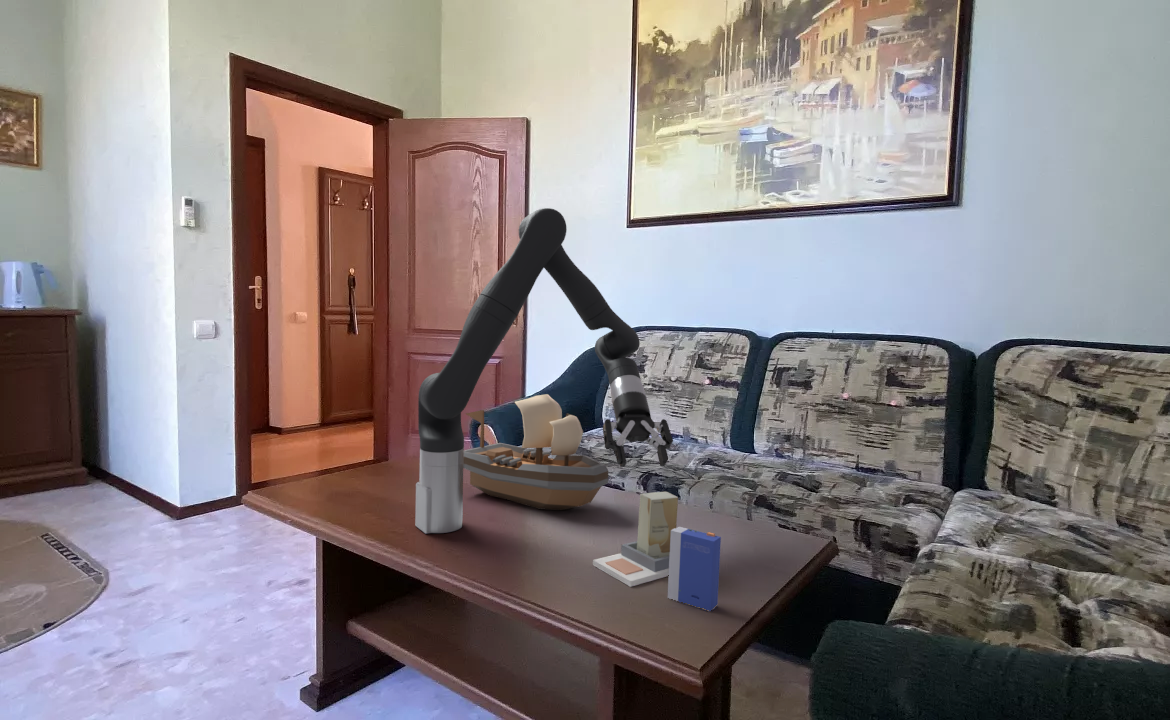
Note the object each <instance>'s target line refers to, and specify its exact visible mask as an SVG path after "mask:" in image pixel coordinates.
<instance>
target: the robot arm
mask: <svg viewBox="0 0 1170 720" xmlns="http://www.w3.org/2000/svg"><path fill="white" fill-rule="evenodd" d="M567 228H568V227H567V223H566V219H565V218H564V216H563V215H562V213H561V212H559V211H558V210H556V209H554V208H551V207H549V208H545V207H544V208H539V209H536V210H535V211H533V212H532V213H530V214H528V215H527V216H525V217H524V218H523V219H522V220H521V221H520V223H519V226H518V238H519V241H518V243H517V245H516V247H515V249H514V251H513V252H512V253H511V256H510V257H509V258H508V260H507V261H506V262H505V263H504V264H503V265H502V266H501V267H500V269H499V270H498V271H497V272H496V273H495V274H494V275H493V277H492V278H491V279H490V280H489V281H488V283H487V284H486V285H485V286H484V288H483V290H482V291H481V292H480V293H479V296H478V297H477V299H476V300H475V302H474V303H473V306H471V309H470V310H469V313H468V314H467V317H466V319H465V322H464V324H463V326H462V330H461V333H460V336H459V339H458V343H457V344H456V347H455V349H454V351H453V353H452V354H451V356H450V358H449V359H448V361H446V363H445V365H444V366H443V368H442V369H441V371H439V372H436V373H432V374H430V375H428V376H427V377H425V379H424V380H423V381H422V383H421V384H420V387H419V390H418V400H417V401H418V402H417V403H418V404H417V405H418V406H417V407H418V408H417V410H418V413H417V414H418V415H417V416H418V421H417V422H418V423H417V425H418V428H417V429H418V436H419V481H417V482H416V483H415V516H414V518H415V521H414V524H415V527H416V528H418V530H420V531H422V532H423V533H424V534H444V533H451V532H455V531H458V530H460V529H461V528H462V527H463V519H464V517H463V516H464V515H463V512H464V511H463V507H464V506H463V505H464V504H463V501H464V499H463V497H464V468H463V462H464V450H465V448H464V447H465V436H464V432H463V428H462V412H463V411H464V410H465V409H466V407H467V405H468V403H469V401H470V398H471V397H472V395H473V392H474V391H475V389H476V388H475V387H476V385H477V384H478V382H479V379H480V377H481V375H482V373H483V371H484V370H485V368H486V366H487V364H488V363H489V361H490V359H491V358H492V357H493V356H494V354H495V352H496V351H497V349H498V348H499V346H500V344H501V343H502V341H503V340H504V338H505V337H506V335H507V334H508V332H509V331H510V329H511V327H512V325H513V324H514V322H515V321H516V319H517V317H518V316H519V313H520V312H521V310H522V308H523V306H524V305H525V302H526V301H527V300H528V297H529V295H530V293H531V291H532V289H533V287H534V285H535V284H536V282H537V279H538V278H539V276H540V274H541V273H542V271H543V269H545V271H546V272H547V273H548V275H550V277H551V278H552V279H553V280H554V282H555V283H556V284H557V286H558V287H559V288H560V289H561V291H562V293H563V294H564V295H565V297H566V298H567V299H568V301H569V302H570V304H571V306H572V307H573V308H574V310H575V312H576V313H577V315H578V316H579V317H580V319H581V321H582V322H583V324H584V325H585V326H586V328H588V330H591V331H596V330H600V329H605V328H607V329H609V330H611V331H609V332H607V333H605V334H604V335H602V336H600V337H599V338H597V339H596V342H595V345H594V351H595V354H596V356H597V357H598V359H599V361H600V362H601V364H602V365H603V368H604V369H605V372H606V374H607V378H608V383H609V386H610V398H611V403H612V408H613V412H614V417H615V422H614V421H611V420H610V419H608V418H606V419H605V421H604V423H603V426H602V432H603V433H602V434H603V442H604V448H605V450H612V451H614V454H615V458H616V463H617V465H620V467H621V468H623V467H624V468H625V467H626V464H627V457H626V453H625V448H624V445H625V443H626V442H627V441H628V442H629V443H634V442H638V443H644V442H646V443H647V444H648V445H649V446H651V447H654V448H655V450H657V451H656V454H657V458H658V463H659V465H660V467H665V465H666V464H667V463H668V461H669V456H668V452H667V451H668V450H669V449H670V448H671V445H672V443H674V439H673V436H672V433H671V430H670V426H669V424H668V421H667V419H664V418H663V419H661V421H654V420H653V419H652V415H651V411H650V406H649V403H648V399H647V395H646V390H645V388H644V385H643V383H642V379H641V375H640V372H639V368H638V364H637V362H636V361H635V360H634V359H632V358H630V357H629V356H630V355H632V354H634V353H636V352H638V350H639V348H640V337H639V335H638V333H637V332H636V331H635V329H633V327H631V326H630V325H629V324H628V323H627V322H626V321H624V320H623V319H622V318H621V317H620V316H619V315H618V314H617V313H616V312H615V311H614V310H613V309H612V308H611V307H610V305H609V303H608V302H607V301H606V299H605V298H604V296H603V294H602V292H601V291H600V290H599V289H598V287H597V286H596V285H595V284H594V283H593V281H592V280H591V279H590V278H589V277H588V276H587V275H586V274H585V273H583V271H581V270H580V269H579V267H577V265H576V264H575V263H574V262H573V260H572V259H571V258H570V256H569V255H568V254H567V251H566V250H565V248H564V247H563V244H564V243H563V242H564V241H565V238H566V236H567ZM614 430H616V431H617V432H618V434H620V436H619V437H618V440H617V441H616V440H614V438H613V437H614V435H613V432H614ZM656 430H657V431H656ZM659 434H660V435H659ZM650 436H651V437H650Z"/></svg>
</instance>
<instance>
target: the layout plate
mask: <svg viewBox="0 0 1170 720" xmlns="http://www.w3.org/2000/svg"><path fill="white" fill-rule="evenodd" d="M620 547H621V551H620V553H616V554H612V555H608V556H603V557H599V558H595V559H592V565H593V566H594V567H596V568H597V569H599V570H600V571H603V572H604V573H606V574H607V575H609V576H611V577H612V578H614V579H616V580H618V581H619V582H622V583H623V584H625V585H627V586H628V587H630V588H632V587H634V586H638V585H642V584H644V583H645V584H646V583H648V582H651V581H655V580H658V579H662V578H665V577H669V576H668V575H669V556H665V557H661V558H658V559H654V558H652V557H650V556H648V555H646V554H644V553H642V552H640V551H638V550H637V540H636V541H632V542H626V543H623V544H621V546H620Z"/></svg>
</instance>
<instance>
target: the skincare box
mask: <svg viewBox="0 0 1170 720" xmlns="http://www.w3.org/2000/svg"><path fill="white" fill-rule="evenodd" d="M678 501H679V496H676V495H674V494H672V493H671V492H668V491H659V492H657V491H656V492H655V491H654V492H647V493H640V494H639V507H638V508H639V509H638V523H637V525H638V527H637V540H636V541H637V550H638V551H640V552H642V553H644V554H646V555H648V556H650V557H652V558H654V559H658V558H661V557H665V556H669V554H670V537H671V530H672V529H674V528H675V529H676V528H677V523H678V522H677V520H678V504H679V503H678Z"/></svg>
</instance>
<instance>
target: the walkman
mask: <svg viewBox="0 0 1170 720" xmlns="http://www.w3.org/2000/svg"><path fill="white" fill-rule="evenodd" d="M721 539H722V537H721V536H718V535H716V533H713V532H709V531H708V532H702V531H699V530H694V529H690V528H686V527H682V526H678V527H677V526H676V529H675V528H674V529H672V530H671V537H670V554H669V576H667V577H668V580H667V599H668V598H669V599H668V600H671V599H673V600H672V601H674V600H676V601H675V602H677V601H679V603H681V602H683V603H682V604H684V603H687V604H690V605H693V606H696V607H700V608H704V609H706V610H709V611H711V610H712V609H713V608H714V607H715V606H716V605H717V604H718V602H719V580H720V565H721V564H720V562H721V542H722V540H721ZM687 604H686V605H687ZM690 605H689V606H690ZM693 606H692V607H693ZM717 606H718V605H717ZM696 607H695V608H696ZM714 609H715V608H714ZM714 609H713V610H714ZM706 610H705V611H706ZM713 610H712V611H713ZM709 611H708V612H709ZM712 611H711V612H712Z"/></svg>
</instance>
